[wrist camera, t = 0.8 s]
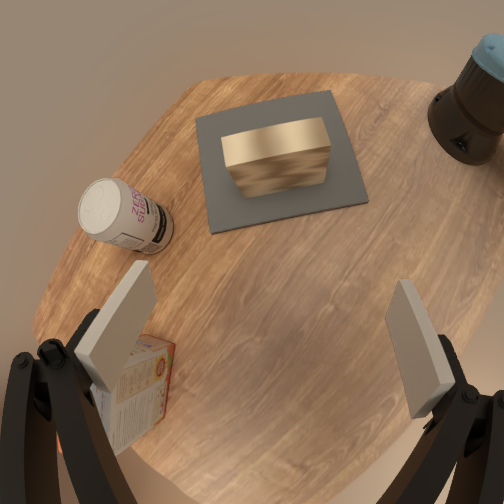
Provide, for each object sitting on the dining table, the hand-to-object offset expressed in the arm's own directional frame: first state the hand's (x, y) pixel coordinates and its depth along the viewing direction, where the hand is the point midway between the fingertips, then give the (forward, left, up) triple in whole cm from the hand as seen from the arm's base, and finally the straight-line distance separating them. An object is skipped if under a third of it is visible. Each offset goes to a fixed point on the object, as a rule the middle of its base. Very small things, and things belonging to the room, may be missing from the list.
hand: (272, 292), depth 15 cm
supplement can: (+20, -14, -28) cm, 37 cm away
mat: (-2, -21, -28) cm, 35 cm away
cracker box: (+24, +10, -28) cm, 38 cm away
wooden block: (-2, -17, -27) cm, 31 cm away
